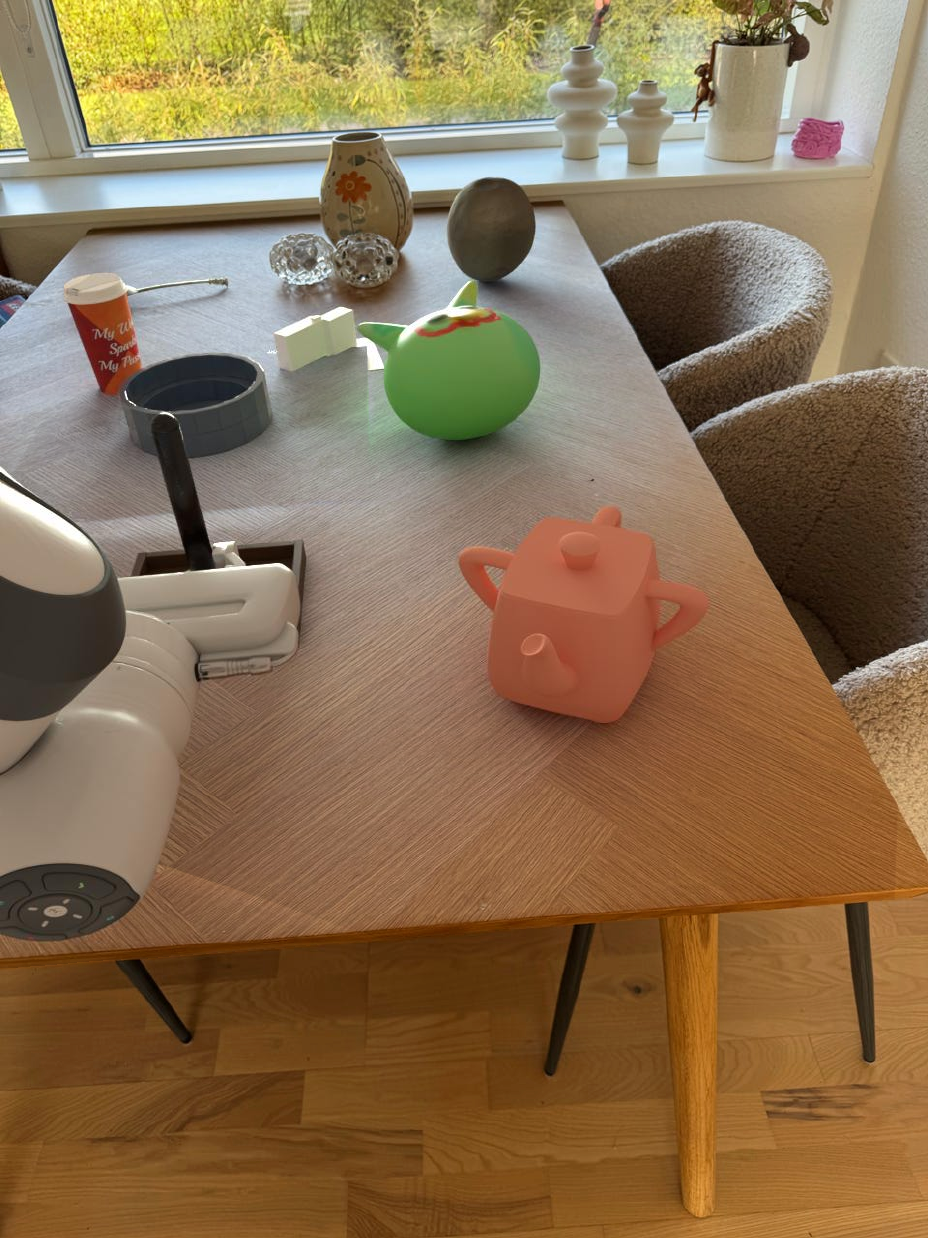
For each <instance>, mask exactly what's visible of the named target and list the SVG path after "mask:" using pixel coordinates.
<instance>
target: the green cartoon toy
mask: <svg viewBox="0 0 928 1238" xmlns="http://www.w3.org/2000/svg"><path fill="white" fill-rule="evenodd" d="M478 287H479V286H478V283H477V280H469V281H467V282H466V283H465V284H464V285H463V287H461V289H460V290H459V291H458V292H457V294H456V295H455V296H454V298H453V299H452V301H451V302H450V303H449V305H448V306H447V307H446V308H445V309H442V310H438V311H436V312H432V313H430V314H428V315H425V316H424V317H421V318H419V319H418V320H416V321H415V322H413V323H412V324H410V325H403V324H402V325H401V324H393V323H383V322H374V321H373V322H371V321H370V322H361V323H359V324H358V325H357V327H356V330H357V332H358V333H359V334H360V335H361V336H363V338H367V339H369V340H370V341H372V342H373V343H375V345H377V346H378V347H380V348H382V349H383V350H385V351H386V352H387V355H386V357H385V361H384V364H383V365H384V369H383V378H382V379H383V386H384V392H385V395H386V398H387V401H388V402H389V405H390V407H392V410H393V411H394V413H395V414H396V415H397V417H398V418H399V419H400V420H401V421H402V422H403V423H404V424H405V425H407V427H408V428H411V429H412V430H414V431H415V432H417V433H419V434H421V435H424V436H426V437H429V438H433V439H437V440H444V441H445V440H446V441H460V440H461V441H463V440H473V439H476V438H481V437H484V436H487V435H490V434H493V433H495V432H497V431H499V430H501V429H503V428H505V427H507V426H508V425H510V424H511V423H512V422H514V421H515V420H516V419H517V418H518V417H520V416H521V415H522V414H523V413H524V412H525V411H526V409H527V408H528V407H529V405H530V404H531V402H533V399H534V397H535V395H536V393H537V390H538V387H539V383H540V379H541V360H540V359H541V358H540V355H539V352H538V348H537V346H536V344H535V341H534V340H533V338H532V337H531V335H530V333H529V332H528V331H527V330H526V328H525V327H524V326H523V325H522V324H521V323H520V322H518V321H517V320H516V319H515V318H513V317H512V316H510V315H508V314H506V313H504V312H501V311H499V310H497V309H494V308H493V309H492V308H488V307H483V306H482V307H481V306H477V301H478V289H479V288H478Z"/></svg>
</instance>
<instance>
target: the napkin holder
mask: <svg viewBox="0 0 928 1238" xmlns="http://www.w3.org/2000/svg"><path fill="white" fill-rule="evenodd" d="M355 323H356V322H355V314H354V310H353V309H351V308H347V307H344V306H339V307H336V308H335V309H332V310H329V311H327V312H325V313H324V314H321V315H318V314H316V315H309V316H307V317H305V318H302V319H301V320H298V321H296V322H294V323H291V324H290V325H288V326H285V327H283V328H280V329H278V330H277V331H275V332H273V338H274V344H275V349H273V350H274V351H275V350H277V351H276V352H277V353H276V352H274V351H271V352H270V350H268V351H269V352H267V351H266V353H267V354H276V355H277V361H278V367H279V369H282V370H286V371H288V372H291V373H292V372H295V371H297V370H299V369H301V368H302V367H304V366H306V365H309V364H311V363H313V362H314V361H317V360H319V359H320V358H323V357H324V356H326V357H327V358H328V357H331V356H336V355H339V354H340V353H342V352H344V351H346V350H348V349H350V348H358V347H366V348H367V349H366V351H367V354H366V355H367V371H375V370H382V369H383V370H384V365H385V364H384V363H383V360H382V357H381V355H380V353H379V351H378V348H377V346H376V344H375V343H373V342H372V341H370V340H369V339H367V338H366V337H361V338H357V333H356V324H355ZM272 352H273V353H272Z"/></svg>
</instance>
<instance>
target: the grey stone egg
mask: <svg viewBox="0 0 928 1238" xmlns="http://www.w3.org/2000/svg"><path fill="white" fill-rule="evenodd" d="M536 225H537V223H536V216H535V211H534V207H533V206H532V203H531V201H530V199H529V198H528V195H527V194H526V192H525V190H524V189H523V188H522V187H521V185H520V184H518V183H516V182H515V181H513V180H511V179H510V178H506V177H498V176H486V177H481V178H477V179H475V180H472V181H471V182H469V183H467V184H466V185H465V186H464V187H463V188H462V189H461V190H460V191H459V192H458V194H456V196H455V198H454V200H453V202H452V204H451V206H450V209H449V212H448V215H447V221H446V241H447V246H448V249H449V252H450V255H451V257H452V259H453V260H454V263H455V264H456V266H457V267H458V268H459V270H460V271H461V272H462V273H463V274H464V275H465V276H467V277H468V278H470V279H472V280H474V281H478V280H479V281H478V282H494V281H498V280H501V279H503V278H505V277H507V276H508V275H510V274H512V272H514V271H516V269H518V267H519V266H521V264H523V262H524V261H525V259H526V258H528V255H529V254H530V252H531V250H532V248H533V244H534V241H535V236H536V229H537V226H536Z"/></svg>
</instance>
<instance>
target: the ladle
mask: <svg viewBox="0 0 928 1238" xmlns="http://www.w3.org/2000/svg"><path fill="white" fill-rule="evenodd" d="M150 431H151V434H152V438H153V441H154V445H155V448H156V452H157V455H158V456H157V455H156V456H157V458H158V462H159V466H160V469H161V472H162V477H163V480H164V483H165V487H166V490H167V494H168V499H169V501H170V505H171V508H172V511H173V512H172V513H173V515H174V519H175V523H176V525H177V530H178V533H179V537H180V541H181V543H182V547H183V549H184V551H185V554H186V558H187V561H188V565H189V570H187V571H186V572H191V571H202V570H213V569H216V568H215V566H216V564H215V563H214V561H213V557H212V548H211V547H212V545H211V541H210V538H209V533H208V529H207V525H206V521H205V519H204V515H203V514H204V513H203V509H202V507H201V503H200V499H199V495H198V491H197V486H196V484H195V483H196V482H195V479H194V475H193V472H192V468H191V463H190V459H189V457H188V456H187V452H186V448H185V445H184V441H183V437H182V433H181V429H180V425H179V422H178V421H177V419H176V418H175V417H174V416H173V415H171V414H169V413H159V414H157V415H155V416H154V417H153V418H152V420H151V422H150Z"/></svg>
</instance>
